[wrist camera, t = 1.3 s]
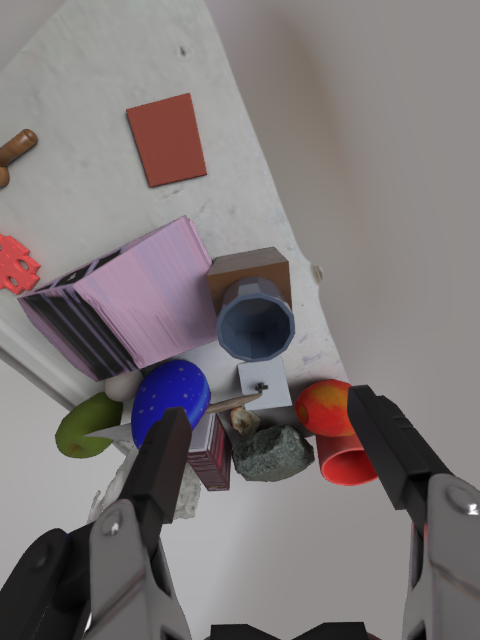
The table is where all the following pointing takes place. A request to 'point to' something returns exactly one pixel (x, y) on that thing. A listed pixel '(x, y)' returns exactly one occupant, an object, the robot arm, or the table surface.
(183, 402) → the ornament
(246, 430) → the oyster shell
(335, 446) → the flower pot
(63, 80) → the table surface
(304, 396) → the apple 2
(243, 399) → the axe
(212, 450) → the supplement box
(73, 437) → the green oval fruit
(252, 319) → the cup
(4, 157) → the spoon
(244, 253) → the wooden upright block
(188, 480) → the decorative stone
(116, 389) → the eyeball
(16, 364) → the table surface
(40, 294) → the toy car
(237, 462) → the rock
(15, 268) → the building block
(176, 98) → the napkin
